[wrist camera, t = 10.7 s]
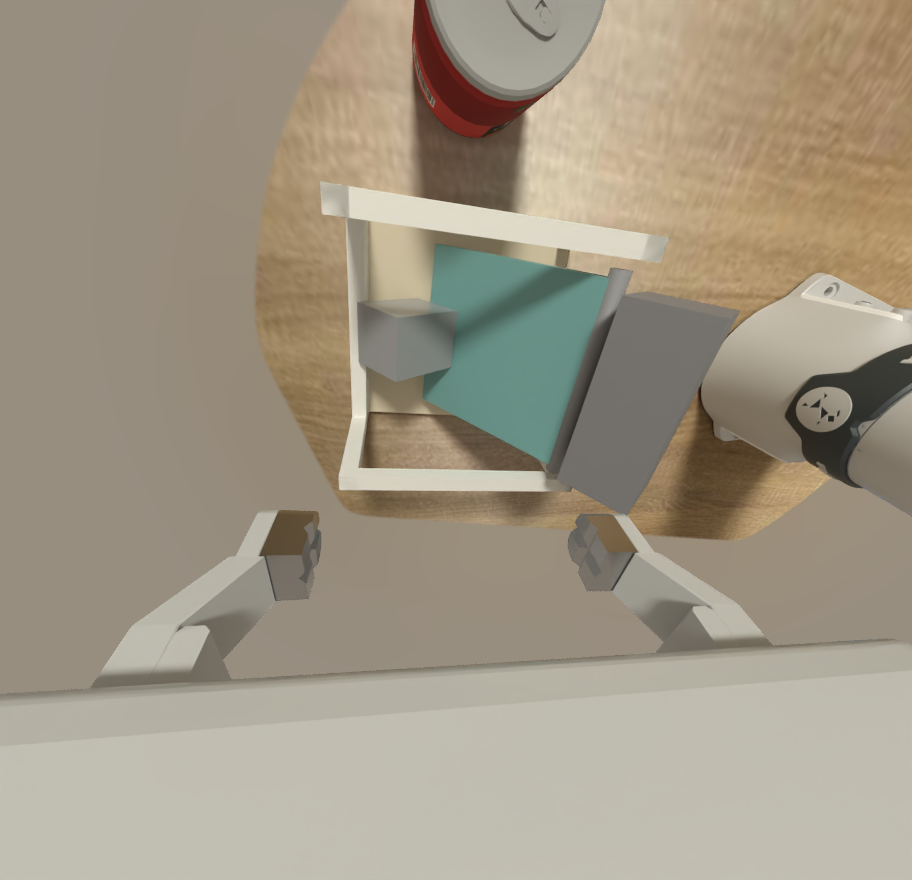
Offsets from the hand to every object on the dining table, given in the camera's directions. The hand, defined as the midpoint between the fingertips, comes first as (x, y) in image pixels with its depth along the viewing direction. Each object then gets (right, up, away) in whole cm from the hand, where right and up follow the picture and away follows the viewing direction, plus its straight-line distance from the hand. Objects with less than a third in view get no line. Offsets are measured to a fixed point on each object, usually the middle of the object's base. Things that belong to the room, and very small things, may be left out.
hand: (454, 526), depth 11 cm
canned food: (+1, +28, +12) cm, 30 cm away
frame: (0, +13, +21) cm, 25 cm away
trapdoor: (+7, +9, +16) cm, 20 cm away
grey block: (-2, +12, +19) cm, 22 cm away
